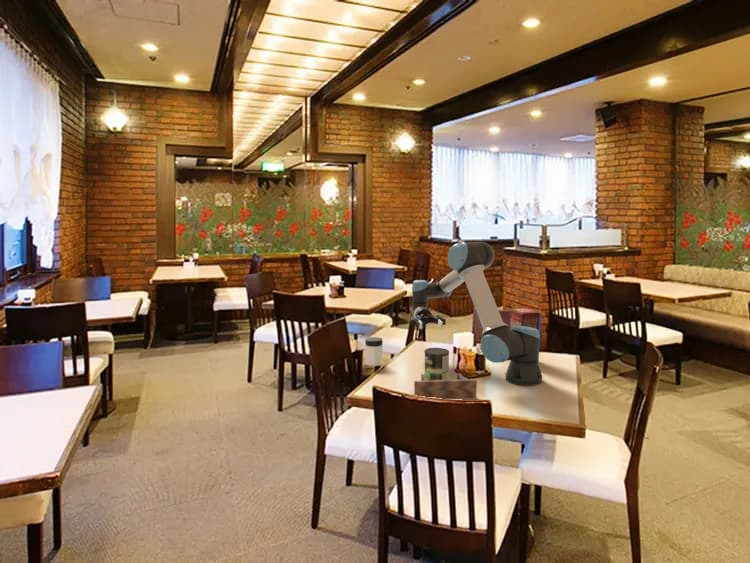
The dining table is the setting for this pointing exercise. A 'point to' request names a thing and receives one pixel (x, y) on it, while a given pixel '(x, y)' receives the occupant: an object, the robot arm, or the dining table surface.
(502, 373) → the dining table surface
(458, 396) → the walnut dock
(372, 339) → the jar
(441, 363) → the coffee can
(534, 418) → the dining table surface
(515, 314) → the food packaging
